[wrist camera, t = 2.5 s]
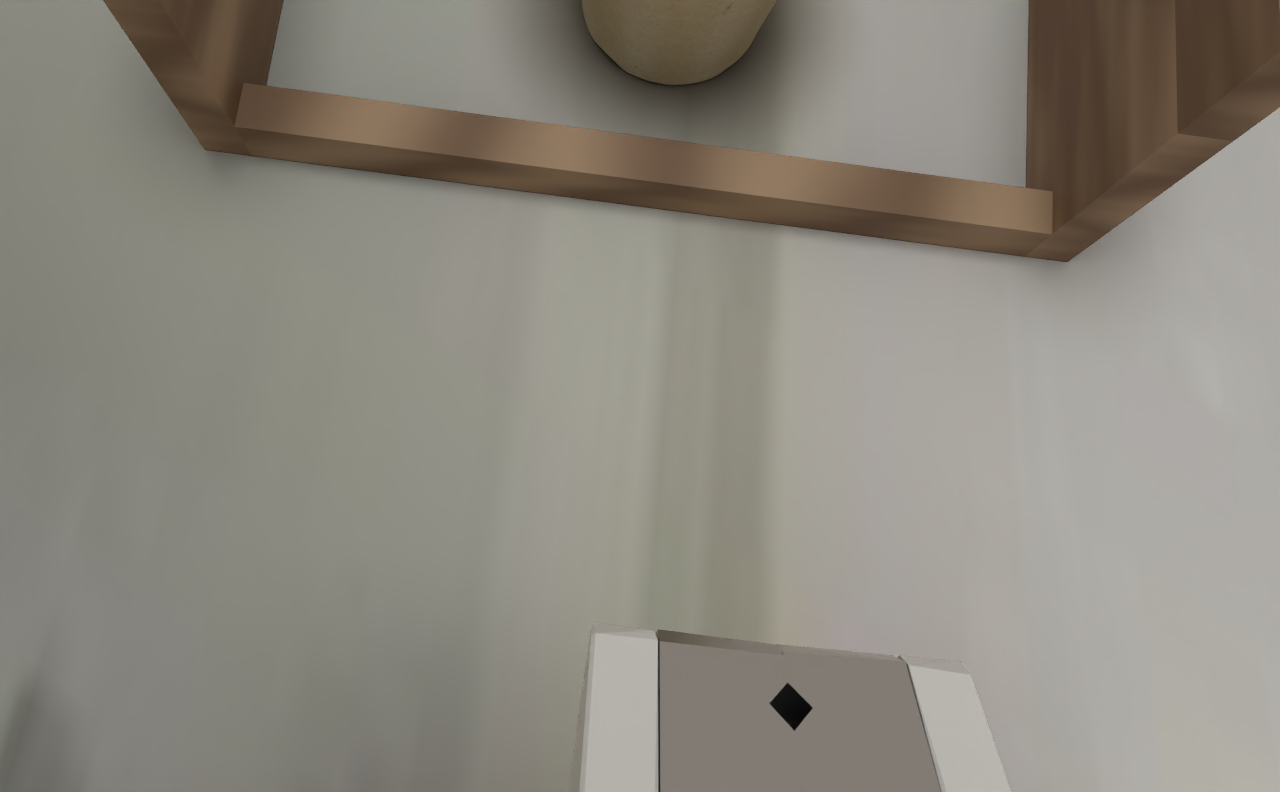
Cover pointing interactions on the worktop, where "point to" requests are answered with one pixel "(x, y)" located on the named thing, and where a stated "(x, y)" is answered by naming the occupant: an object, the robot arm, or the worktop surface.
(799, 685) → the robot arm
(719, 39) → the flower pot
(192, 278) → the worktop surface
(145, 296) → the worktop surface
